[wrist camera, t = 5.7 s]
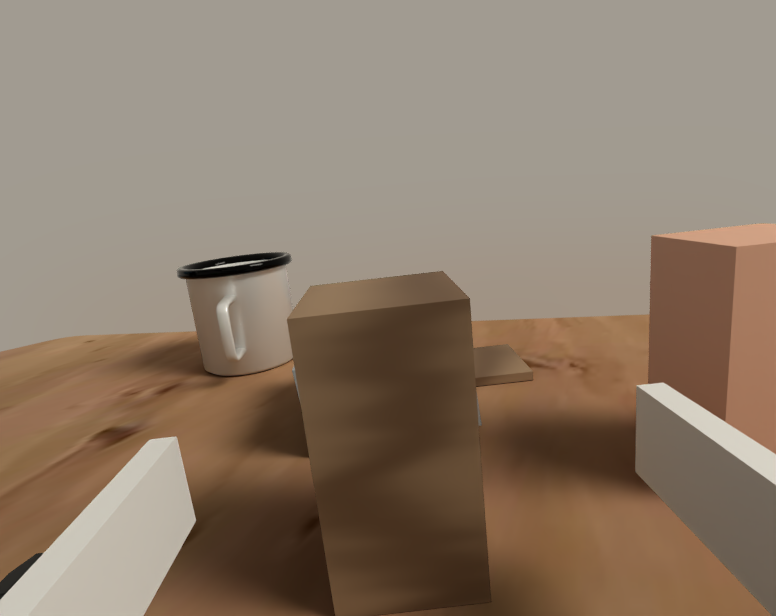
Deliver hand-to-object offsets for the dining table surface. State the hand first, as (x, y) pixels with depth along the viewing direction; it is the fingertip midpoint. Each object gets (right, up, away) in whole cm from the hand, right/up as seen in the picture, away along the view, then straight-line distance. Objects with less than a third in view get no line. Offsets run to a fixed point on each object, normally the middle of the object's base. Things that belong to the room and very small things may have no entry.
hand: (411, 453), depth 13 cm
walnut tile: (+6, 0, +21) cm, 22 cm away
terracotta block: (+15, -3, +7) cm, 17 cm away
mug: (-13, -1, +28) cm, 30 cm away
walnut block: (0, -5, +4) cm, 6 cm away
